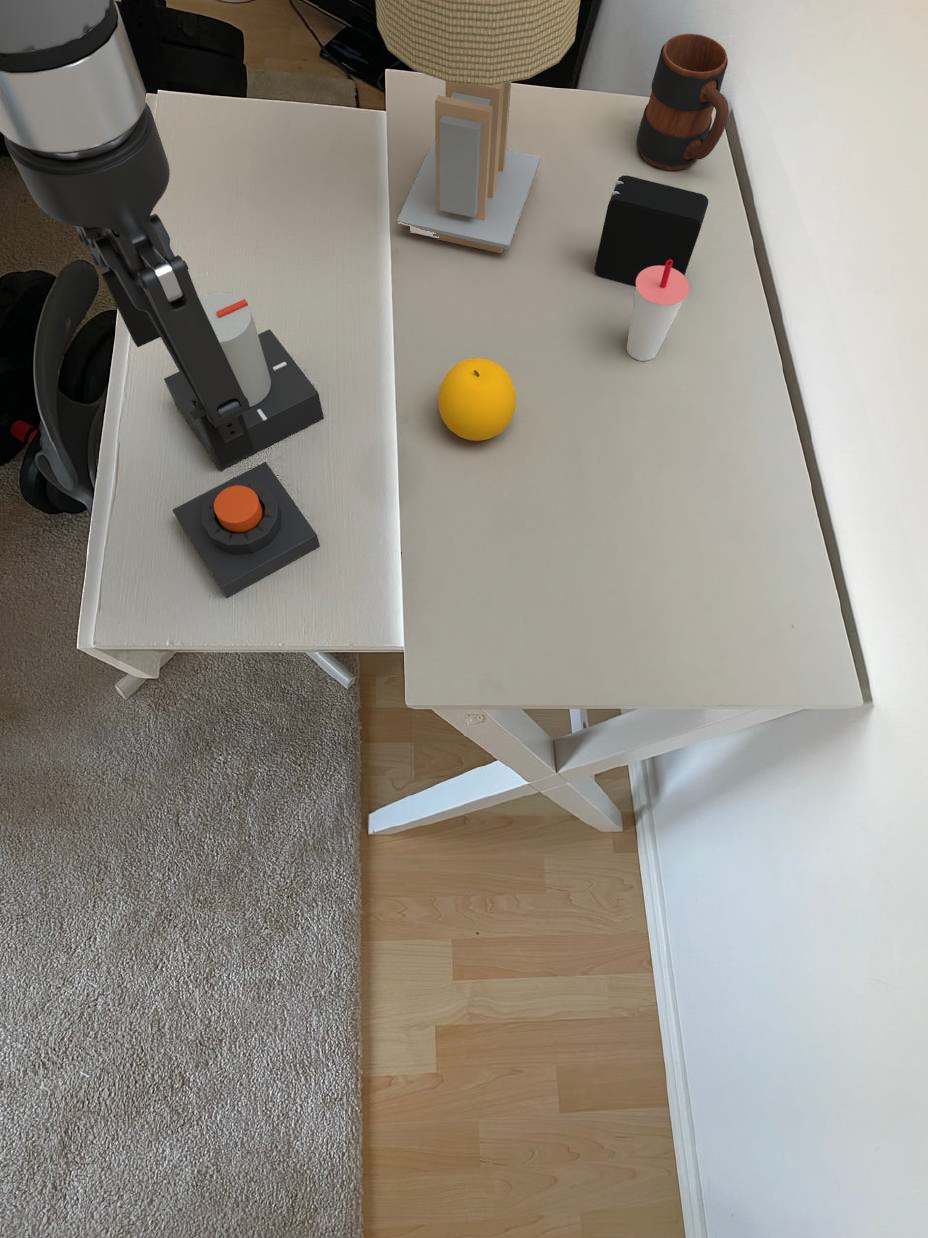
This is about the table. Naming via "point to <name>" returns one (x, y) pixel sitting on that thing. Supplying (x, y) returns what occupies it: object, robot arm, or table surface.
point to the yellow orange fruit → (477, 399)
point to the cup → (654, 309)
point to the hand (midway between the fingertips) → (192, 394)
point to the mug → (684, 103)
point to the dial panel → (263, 402)
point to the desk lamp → (475, 106)
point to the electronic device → (648, 228)
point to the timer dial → (239, 342)
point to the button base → (248, 532)
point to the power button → (238, 509)
